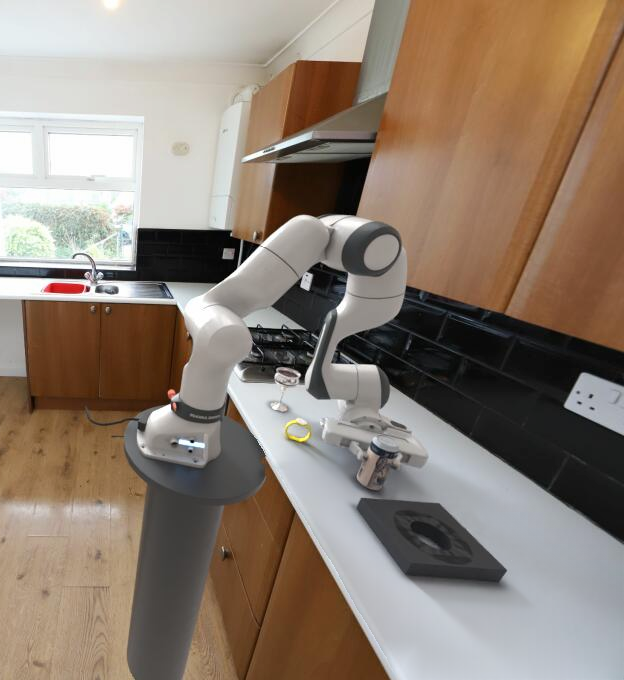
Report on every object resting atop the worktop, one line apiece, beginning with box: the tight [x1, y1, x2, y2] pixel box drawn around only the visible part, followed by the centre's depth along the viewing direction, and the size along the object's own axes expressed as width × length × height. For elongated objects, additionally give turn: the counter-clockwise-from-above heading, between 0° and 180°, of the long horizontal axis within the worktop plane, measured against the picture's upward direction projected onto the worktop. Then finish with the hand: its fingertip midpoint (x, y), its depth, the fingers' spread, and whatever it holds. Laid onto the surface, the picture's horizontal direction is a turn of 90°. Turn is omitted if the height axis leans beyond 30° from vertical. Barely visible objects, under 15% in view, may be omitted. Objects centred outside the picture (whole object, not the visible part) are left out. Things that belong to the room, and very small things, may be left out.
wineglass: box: [269, 366, 302, 412], centre depth 106 cm, size 7×7×12 cm
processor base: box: [356, 497, 508, 583], centre depth 66 cm, size 16×14×3 cm
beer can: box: [356, 435, 399, 491], centre depth 77 cm, size 5×5×12 cm
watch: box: [284, 417, 312, 443], centre depth 92 cm, size 6×3×6 cm, turn 65°
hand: (379, 463), depth 76 cm, fingers closed on beer can, 5 cm apart
